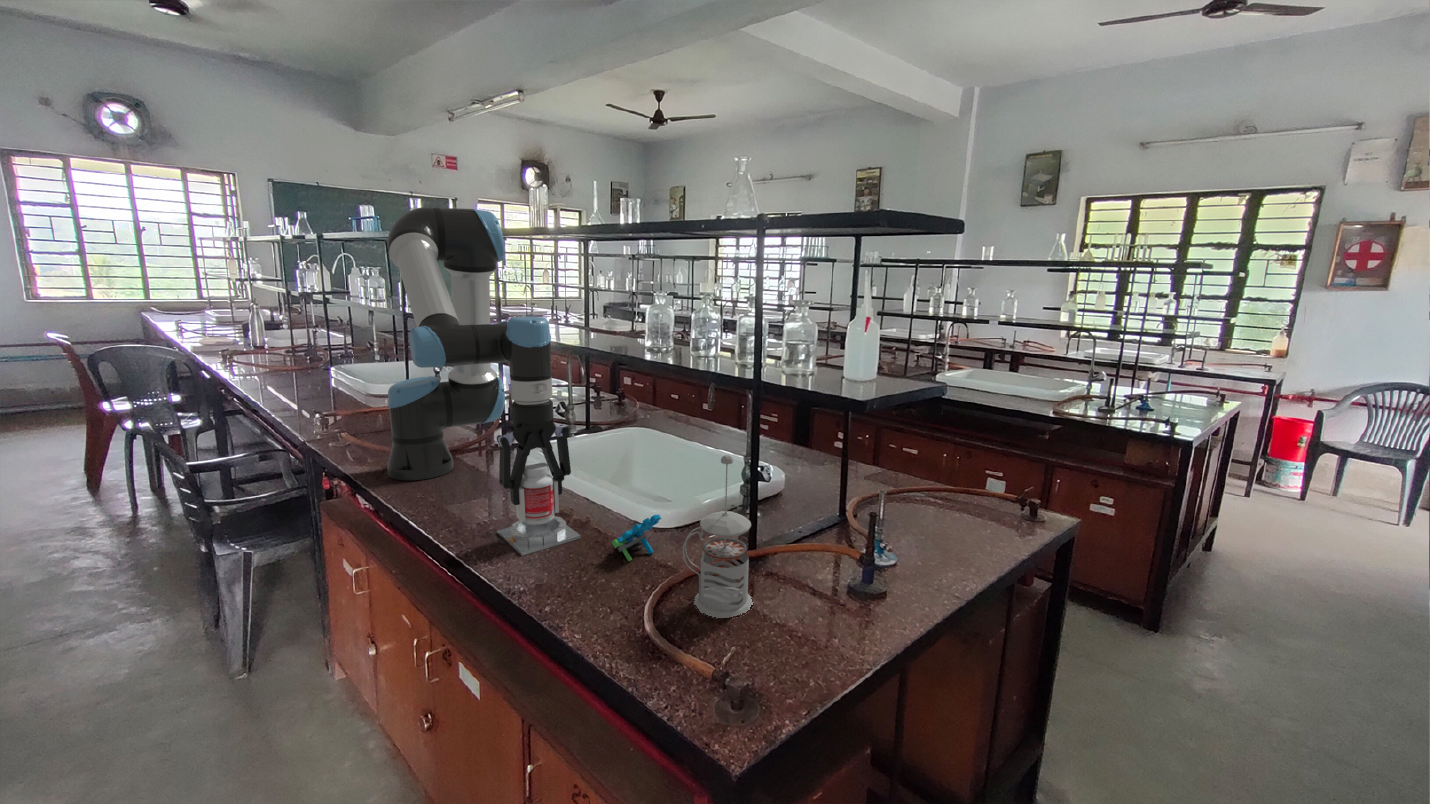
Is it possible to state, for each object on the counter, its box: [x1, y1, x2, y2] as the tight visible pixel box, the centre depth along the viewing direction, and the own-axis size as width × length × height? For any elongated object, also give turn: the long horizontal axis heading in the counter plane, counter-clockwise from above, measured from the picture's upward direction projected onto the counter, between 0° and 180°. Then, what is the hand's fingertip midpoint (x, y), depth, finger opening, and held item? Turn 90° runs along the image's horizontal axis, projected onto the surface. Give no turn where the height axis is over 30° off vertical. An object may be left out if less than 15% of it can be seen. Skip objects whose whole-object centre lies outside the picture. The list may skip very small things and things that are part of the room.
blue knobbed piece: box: [611, 514, 662, 562], centre depth 117 cm, size 11×6×10 cm
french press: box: [682, 454, 754, 619], centre depth 99 cm, size 10×12×25 cm
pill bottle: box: [520, 461, 555, 525], centre depth 122 cm, size 6×6×11 cm
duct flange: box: [497, 515, 582, 557], centre depth 123 cm, size 12×12×2 cm
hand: (537, 514), depth 123 cm, fingers closed on pill bottle, 6 cm apart
